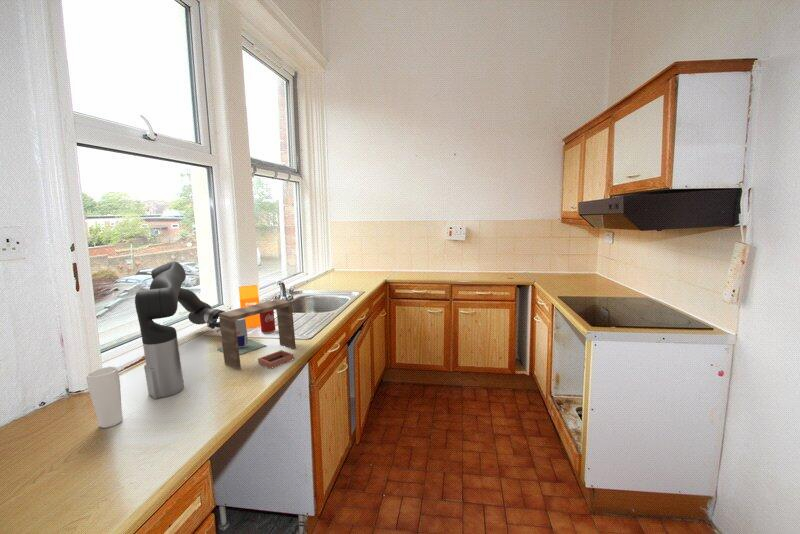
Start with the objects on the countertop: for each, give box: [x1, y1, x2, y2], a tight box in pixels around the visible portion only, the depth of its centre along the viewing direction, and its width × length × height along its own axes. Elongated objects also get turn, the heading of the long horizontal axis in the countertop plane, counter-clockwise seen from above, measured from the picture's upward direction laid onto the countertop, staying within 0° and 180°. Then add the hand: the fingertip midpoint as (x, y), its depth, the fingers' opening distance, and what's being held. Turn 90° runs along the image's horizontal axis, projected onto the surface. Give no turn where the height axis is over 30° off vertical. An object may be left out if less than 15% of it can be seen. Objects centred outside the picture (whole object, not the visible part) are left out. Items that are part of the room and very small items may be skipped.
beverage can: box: [259, 310, 276, 335], centre depth 179 cm, size 6×6×12 cm
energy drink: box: [235, 318, 248, 349], centre depth 159 cm, size 5×5×12 cm
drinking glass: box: [86, 366, 124, 429], centre depth 105 cm, size 7×7×15 cm
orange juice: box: [238, 284, 261, 329], centre depth 191 cm, size 8×9×20 cm
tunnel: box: [219, 298, 297, 371], centre depth 149 cm, size 25×9×20 cm, turn 140°
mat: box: [216, 339, 267, 356], centre depth 160 cm, size 14×14×1 cm
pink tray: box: [257, 349, 295, 369], centre depth 144 cm, size 10×8×2 cm
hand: (234, 323), depth 161 cm, fingers open, 8 cm apart
